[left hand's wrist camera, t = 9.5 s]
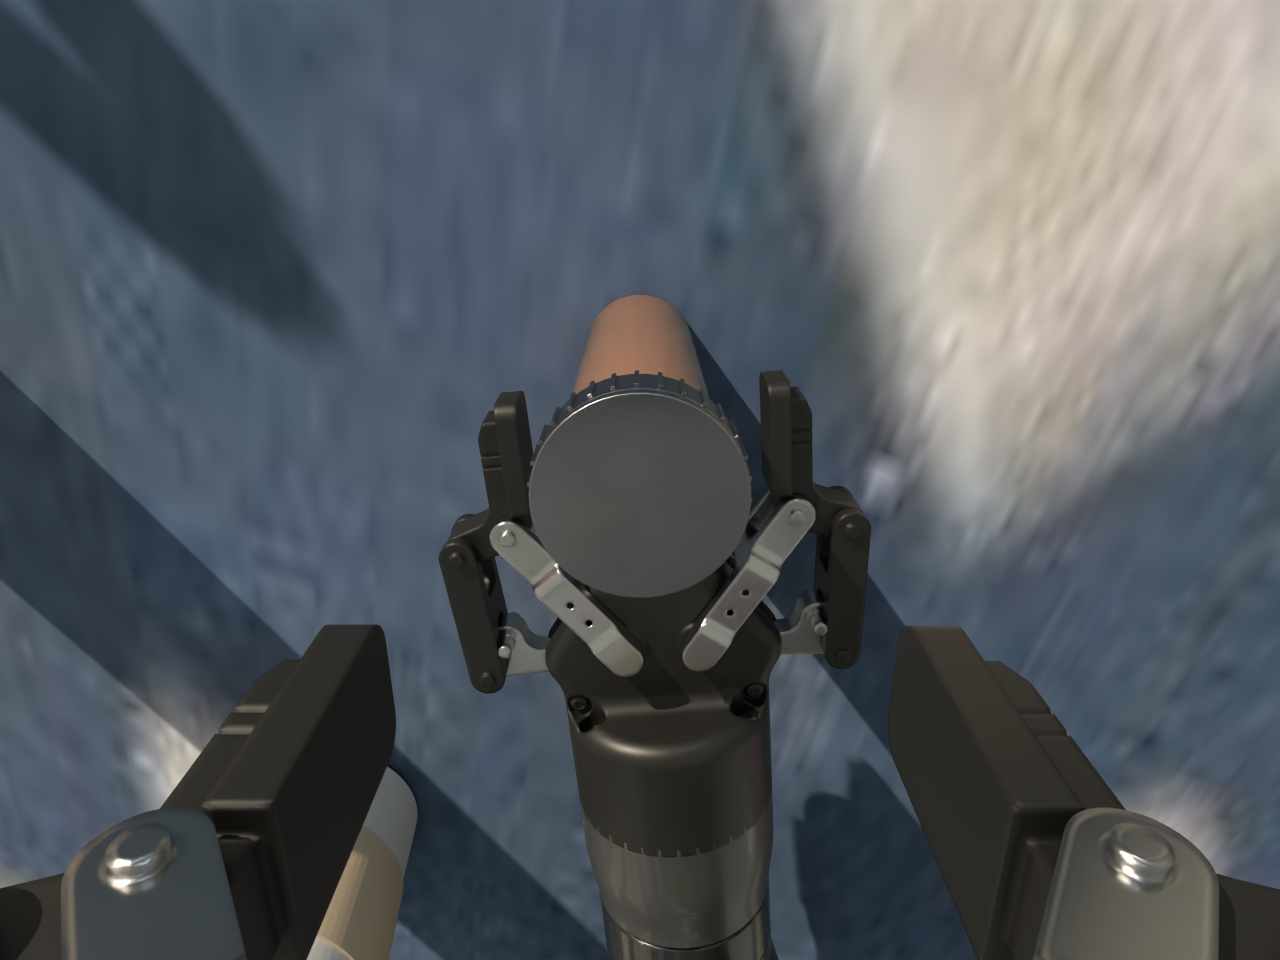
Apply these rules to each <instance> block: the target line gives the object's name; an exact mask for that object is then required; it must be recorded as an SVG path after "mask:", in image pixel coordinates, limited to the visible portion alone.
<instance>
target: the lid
mask: <svg viewBox="0 0 1280 960" xmlns="http://www.w3.org/2000/svg"><path fill="white" fill-rule="evenodd" d="M738 439H739V436H738V433H737V430H736V427H735V425H734V422H733V421H732V420H730V421H728V419H727V418H726V416H725V415H724V413H723V410H722V407H721V405H720V404H719V403H717V404H716V405H715V404H714V403H713V402H712V401H711V400H710V399H709V398H708V397H707V396H706V395H705V391H704V390H703V389H701V388H700V390H699V391H698V390H697V389H695V388H693V387H691V386H689V385H688V384H686V383H685V380H684V379H682V378H680V379H679V381H678V380H675V379H673V378H669V377H665V376H663V374H662V372H658V373H657V375H653V374H639V370H635V372H634V374H627V375H620V376H617V375H616V373H613V374H612V375H611V378H608V379H604V380H602V381H599V382H597V383H595V381H594V380H593V381H591V382H590V384H589V387H587V388H585V389H583V390H582V391H580V392H579V393H577V394H576V393H575V392H573V393H572V394H571V396H570V399H569V400H568V401H567V403H566V404H565V405H564V406H563V407H562V408H561V409H560V408H559V407H557V408H556V409H555V412H554V415H553V418H552V421H551V422H550V424H549V426H547V425H545V426H544V428H543V430H542V433H541V436H540V439H539V442H538V444H537V446H536V449H535V451H534V454H533V457H532V460H531V463H530V465H531V466H533V468H532V471H531V474H530V477H529V480H528V483H527V487H529V508H530V513H531V518H532V522H533V525H534V527H535V530H536V533H537V535H538V537H539V539H540V541H541V543H542V545H543V546H544V548H545V549H546V551H547V552H548V553H549V555H550V556H551V557H552V558H553V560H554V561H555V562H556V563H557V564H558V565H559V566H560V567H561V568H562V569H563V570H565V571H566V572H567V573H568V574H569V575H571V576H572V577H574V578H575V579H577V580H578V581H580V582H581V583H583V584H585V585H587V586H589V587H591V588H594V589H596V590H599V591H602V592H605V593H608V594H612V595H617V596H621V597H631V598H650V597H658V596H664V595H668V594H672V593H676V592H678V591H681V590H684V589H686V588H689V587H691V586H693V585H695V584H697V583H698V582H700V581H702V580H703V579H705V578H706V577H708V576H709V575H711V574H712V573H713V572H714V571H715V570H717V569H718V568H719V567H720V566H721V565H722V564H723V563H724V562H725V561H726V559H727V558H728V557H729V556H730V555H731V554H732V552H733V551H734V549H735V548H736V546H737V545H738V543H739V541H740V539H741V537H742V535H743V533H744V531H745V528H746V525H747V522H748V519H749V513H750V508H751V503H752V497H751V483H750V481H752V475H751V473H750V470H749V467H748V464H747V461H746V460H748V456H747V453H746V451H745V448H744V445H743V442H742V440H741V439H739V440H738Z"/></svg>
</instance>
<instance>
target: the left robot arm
mask: <svg viewBox="0 0 1280 960" xmlns="http://www.w3.org/2000/svg"><path fill="white" fill-rule="evenodd" d="M395 731H396V715H395V707H394V699H393V692H392V684H391V677H390V669H389V662H388V654H387V647H386V640H385V635H384V632H383V629H382V628H381V626H379V625H325V626H324V627H323V628H322V629H321V630H320V632H319V633H318V634H317V636H316V637H315V639H314V640H313V642H312V643H311V645H310V646H309V648H308V649H307V651H306V652H305V654H304V655H303V657H302V658H301V660H284V661H282V662H281V663H280V664H278V665H277V666H275V667H274V668H273V669H271V670H270V671H268V672H267V673H266V674H264V675H263V676H261V677H260V678H259V679H257V680H256V681H254V682H253V684H252V685H251V686H250V688H249V689H248V690H247V692H246V693H245V694H244V696H243V697H242V699H241V700H240V701H239V703H238V704H237V705H236V707H235V712H234V713H230V715H229V716H228V717H227V719H226V720H225V722H224V723H223V724H222V726H221V727H220V728H219V734H215V735H214V736H213V738H212V739H211V740H210V742H209V743H208V745H207V746H206V747H205V749H204V750H203V751H202V753H201V754H200V755H199V757H198V758H197V759H196V761H195V762H194V763H193V765H192V766H191V768H190V769H189V770H188V772H187V773H186V774H185V776H184V777H183V778H182V780H181V781H180V782H179V784H178V785H177V786H176V788H175V789H174V791H173V792H172V793H171V795H170V796H169V797H168V799H167V800H166V801H165V803H164V804H163V805H162V807H161V808H160V809H158V810H153V811H149V812H145V813H142V814H139V815H136V816H133V817H131V818H129V819H126V820H124V821H122V822H120V823H118V824H116V825H114V826H112V827H110V828H109V829H107V830H105V831H104V832H102V833H101V834H99V835H98V836H97V837H95V838H94V839H93V840H91V841H90V842H89V843H88V844H87V845H86V846H84V847H83V848H82V849H81V850H80V851H79V852H78V853H77V855H76V856H75V857H74V858H73V859H72V861H71V862H70V864H69V865H68V867H67V869H66V870H65V873H62V874H58V875H55V876H51V877H46V878H42V879H38V880H34V881H30V882H26V883H21V884H17V885H13V886H9V887H5V888H1V889H0V960H307V958H308V956H309V953H310V951H311V948H312V946H313V944H314V941H315V939H316V936H317V934H318V932H319V929H320V927H321V924H322V922H323V920H324V917H325V915H326V912H327V910H328V908H329V905H330V903H331V900H332V898H333V896H334V893H335V891H336V888H337V886H338V884H339V881H340V879H341V876H342V874H343V872H344V869H345V867H346V864H347V862H348V860H349V857H350V855H351V852H352V850H353V847H354V845H355V843H356V840H357V838H358V835H359V833H360V831H361V828H362V826H363V823H364V821H365V819H366V816H367V814H368V811H369V809H370V807H371V804H372V802H373V799H374V797H375V795H376V792H377V790H378V787H379V785H380V783H381V780H382V778H383V775H384V773H385V771H386V768H387V766H388V763H389V761H390V758H391V755H392V751H393V747H394V741H395ZM888 732H889V742H890V748H891V753H892V756H893V760H894V762H895V765H896V767H897V769H898V772H899V774H900V777H901V779H902V781H903V784H904V786H905V788H906V791H907V793H908V796H909V798H910V800H911V803H912V805H913V807H914V810H915V812H916V814H917V817H918V819H919V822H920V824H921V826H922V829H923V831H924V833H925V836H926V838H927V841H928V843H929V845H930V848H931V850H932V852H933V855H934V857H935V859H936V862H937V864H938V867H939V869H940V871H941V874H942V876H943V878H944V881H945V883H946V886H947V888H948V890H949V893H950V895H951V897H952V900H953V902H954V904H955V907H956V909H957V912H958V914H959V916H960V919H961V921H962V923H963V926H964V928H965V931H966V933H967V935H968V938H969V940H970V942H971V945H972V947H973V949H974V952H975V954H976V957H977V959H978V960H1280V890H1279V889H1275V888H1271V887H1267V886H1263V885H1258V884H1254V883H1250V882H1246V881H1242V880H1238V879H1233V878H1230V877H1226V876H1223V875H1219V874H1216V873H1215V870H1214V869H1213V867H1212V865H1211V864H1210V862H1209V861H1208V859H1207V858H1206V857H1205V856H1204V855H1203V853H1202V852H1201V851H1200V850H1199V849H1198V848H1197V847H1196V846H1194V845H1193V844H1192V843H1191V842H1190V841H1189V840H1187V839H1186V838H1185V837H1183V836H1182V835H1181V834H1179V833H1178V832H1176V831H1175V830H1173V829H1171V828H1170V827H1168V826H1166V825H1164V824H1162V823H1160V822H1158V821H1156V820H1154V819H1151V818H1149V817H1147V816H1144V815H1141V814H1138V813H1135V812H1131V811H1127V810H1125V808H1124V807H1123V806H1122V804H1121V803H1120V802H1119V800H1118V799H1117V798H1116V796H1115V795H1114V794H1113V792H1112V791H1111V790H1110V788H1109V787H1108V786H1107V784H1106V783H1105V782H1104V780H1103V779H1102V778H1101V776H1100V775H1099V774H1098V772H1097V771H1096V770H1095V768H1094V767H1093V766H1092V764H1091V763H1090V762H1089V760H1088V759H1087V757H1086V756H1085V755H1084V753H1083V752H1082V751H1081V749H1080V748H1079V747H1078V745H1077V744H1076V743H1075V741H1074V740H1073V739H1072V737H1071V736H1067V734H1066V729H1065V728H1064V727H1063V725H1062V724H1061V723H1060V721H1059V720H1058V719H1057V717H1056V716H1055V715H1054V714H1051V713H1050V708H1049V707H1048V705H1047V704H1046V703H1045V701H1044V700H1043V699H1042V697H1041V696H1040V695H1039V693H1038V692H1037V691H1036V689H1035V688H1034V687H1033V685H1032V684H1031V683H1030V682H1029V681H1027V680H1026V679H1024V678H1023V677H1021V676H1020V675H1019V674H1017V673H1016V672H1014V671H1013V670H1012V669H1010V668H1009V667H1007V666H1006V665H1004V664H1003V663H1002V662H1000V661H984V660H983V658H982V657H981V655H980V654H979V652H978V651H977V649H976V648H975V647H974V645H973V644H972V642H971V641H970V639H969V638H968V636H967V635H966V633H965V632H964V631H963V629H962V628H960V627H958V626H905V627H904V628H903V629H902V631H901V633H900V637H899V642H898V649H897V656H896V664H895V671H894V679H893V686H892V694H891V701H890V708H889V717H888Z"/></svg>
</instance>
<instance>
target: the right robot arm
mask: <svg viewBox="0 0 1280 960" xmlns="http://www.w3.org/2000/svg"><path fill="white" fill-rule="evenodd" d="M760 411H761V442H762V472H763V475H764V478H765V481H766V483H767V486H766V488H765V489H764V490H763V492H762V493H761V494H760V496H759V497H758V498H757V500H756V501H755V502H754V504H753V505H752V506H751V508H750V513H749V519H748V522H747V525H746V528H745V531H744V533H743V535H742V537H741V539H740V541H739V543H738V545H737V546H736V548H735V549H734V551H733V552H732V554H731V555H730V556H729V557H728V558H727V559H726V561H725V562H724V563H723V564H722V565H721V566H720V567H719V568H718V569H717V570H715V571H714V572H713V573H712V574H711V575H709V576H708V577H706V578H705V579H703V580H702V581H700V582H698V583H697V584H695V585H693V586H691V587H689V588H686V589H684V590H681V591H678V592H676V593H672V594H668V595H664V596H658V597H650V598H631V597H621V596H617V595H612V594H608V593H605V592H602V591H599V590H596V589H594V588H591V587H589V586H587V585H585V584H583V583H581V582H580V581H578V580H577V579H575V578H574V577H572V576H571V575H569V574H568V573H567V572H566V571H565V570H563V569H562V568H561V567H560V566H559V565H558V564H557V563H556V562H555V561H554V560H553V558H552V557H551V556H550V555H549V553H548V552H547V551H546V549H545V548H544V546H543V545H542V543H541V541H540V539H539V537H538V535H537V533H536V530H535V527H534V525H533V522H532V518H531V513H530V508H529V487H527V483H528V480H529V477H530V474H531V471H532V468H533V466H531V465H530V463H531V460H532V457H533V449H532V442H531V435H530V428H529V421H528V414H527V407H526V400H525V395H524V392H523V391H516V392H504V393H501V394H500V396H499V398H498V399H497V401H496V403H495V405H494V411H489V413H488V414H487V416H486V418H485V419H484V421H483V423H482V425H481V429H480V433H479V437H478V442H479V448H480V454H481V460H482V466H483V472H484V478H485V484H486V490H487V496H488V502H489V508H488V509H487V510H485V511H483V512H481V513H478V514H476V515H474V514H466V515H463V516H461V517H459V518H458V519H457V521H456V522H455V524H454V526H453V528H452V533H451V535H450V537H449V539H448V541H447V542H446V543H445V544H444V546H443V548H442V550H441V552H440V554H439V563H440V567H441V571H442V574H443V578H444V582H445V586H446V589H447V593H448V597H449V601H450V604H451V608H452V612H453V616H454V619H455V623H456V627H457V631H458V634H459V638H460V642H461V646H462V649H463V653H464V657H465V661H466V664H467V668H468V672H469V676H470V679H471V683H472V685H473V686H474V687H475V688H476V689H477V690H478V691H480V692H483V693H495V692H497V691H499V690H500V689H501V688H502V687H503V685H504V682H505V678H506V677H507V676H515V675H523V674H531V673H539V672H547V671H549V672H550V674H551V675H552V676H553V677H554V679H555V680H556V681H557V682H558V683H559V685H560V686H561V688H562V690H563V692H564V695H565V700H566V706H567V712H568V719H569V726H570V733H571V740H572V747H573V754H574V761H575V768H576V775H577V783H578V790H579V797H580V804H581V811H582V818H583V824H584V831H585V838H586V845H587V850H588V855H589V858H590V862H591V865H592V869H593V872H594V875H595V878H596V880H597V883H598V887H599V892H600V900H601V907H602V914H603V921H604V928H605V935H606V942H607V950H608V956H609V960H779V959H778V956H777V953H776V950H775V947H774V944H773V941H772V938H771V934H770V932H771V929H770V897H769V867H770V860H771V854H772V846H773V804H772V772H771V741H770V710H769V677H770V673H771V671H772V668H773V666H774V665H775V663H776V662H777V660H778V658H779V656H780V654H824V655H825V658H826V661H827V662H828V664H829V665H830V666H832V667H834V668H837V669H846V668H849V667H851V666H853V665H854V664H855V663H856V662H857V661H858V659H859V657H860V649H861V637H862V626H863V614H864V603H865V592H866V580H867V569H868V557H869V546H870V534H871V525H870V523H869V521H868V519H867V518H866V516H865V514H864V513H863V511H862V510H861V508H860V506H859V505H858V503H857V502H856V500H855V498H854V497H853V495H852V494H851V492H850V491H849V490H848V489H847V488H845V487H842V486H833V487H830V488H828V487H824V486H820V485H817V484H815V483H813V482H812V412H811V410H810V408H809V405H808V403H807V401H806V399H805V397H804V396H803V394H802V393H801V391H800V390H799V388H798V387H790V383H789V380H788V379H787V377H786V376H785V374H784V373H783V371H782V370H781V371H769V372H760ZM807 531H809V532H813V533H817V544H816V560H815V576H814V591H811V590H806V591H804V592H803V593H802V595H801V596H800V597H799V598H798V599H797V601H796V605H795V608H794V610H793V612H792V613H791V614H790V615H789V616H787V617H786V618H783V619H776V618H775V616H774V614H773V613H772V611H771V610H770V609H769V608H768V607H767V606H766V605H765V604H764V602H763V601H762V599H763V598H764V597H765V595H766V594H767V593H768V591H769V590H770V589H771V588H772V586H773V585H774V584H775V582H776V581H777V579H778V577H779V575H780V572H781V567H782V564H783V562H784V561H785V560H786V558H787V557H788V556H789V554H790V553H791V552H792V551H793V549H794V548H795V547H796V545H797V544H798V543H799V542H800V540H801V539H802V538H803V536H804V535H805V534H806V533H807ZM498 555H501V556H502V557H503V558H504V559H505V560H506V561H508V562H509V563H510V564H511V565H512V566H513V567H514V568H515V569H516V570H517V571H518V572H519V573H520V574H522V575H523V576H524V577H525V578H526V579H527V580H528V581H529V582H530V584H531V585H532V588H533V591H534V593H535V595H536V596H537V598H538V599H539V600H540V601H541V602H542V603H543V604H544V605H545V606H546V607H547V608H549V609H550V610H551V611H552V612H553V613H554V614H555V615H556V616H557V617H558V618H557V620H556V621H555V623H554V624H553V626H552V627H551V629H550V632H549V635H548V636H546V637H543V636H538V635H536V634H534V633H533V632H531V631H530V630H529V628H528V626H527V624H526V622H525V620H524V619H523V618H522V617H520V615H519V614H518V613H516V612H511V613H509V614H508V612H507V608H506V603H505V599H504V595H503V591H502V587H501V582H500V578H499V574H498V570H497V565H496V561H495V557H496V556H498Z"/></svg>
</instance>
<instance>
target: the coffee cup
mask: <svg viewBox="0 0 1280 960" xmlns="http://www.w3.org/2000/svg"><path fill="white" fill-rule="evenodd" d="M417 817H418V812H417V805H416V801H415V798H414V796H413V794H412V792H411V790H410V788H409V787H408V785H407V784H406V783H405V781H404V780H403V779H402V778H401V777H400V776H399V775H398V774H397V773H396V772H394V771H393V770H392V769H390V768H389V767H387V768H386V771H385V773H384V775H383V778H382V780H381V783H380V785H379V787H378V790H377V792H376V795H375V797H374V799H373V802H372V804H371V807H370V809H369V811H368V814H367V816H366V819H365V821H364V823H363V826H362V828H361V831H360V833H359V835H358V838H357V840H356V843H355V845H354V847H353V850H352V852H351V855H350V857H349V860H348V862H347V864H346V867H345V869H344V872H343V874H342V876H341V879H340V881H339V884H338V886H337V888H336V891H335V893H334V896H333V898H332V900H331V903H330V905H329V908H328V910H327V912H326V915H325V917H324V920H323V922H322V924H321V927H320V929H319V932H318V934H317V936H316V939H315V941H314V944H313V946H312V948H311V951H310V953H309V956H308V958H307V960H388V959H389V954H390V950H391V945H392V941H393V936H394V932H395V927H396V923H397V918H398V913H399V909H400V904H401V900H402V895H403V889H404V881H403V879H404V875H405V871H406V867H407V862H408V858H409V854H410V849H411V845H412V841H413V837H414V832H415V828H416V824H417Z"/></svg>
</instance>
